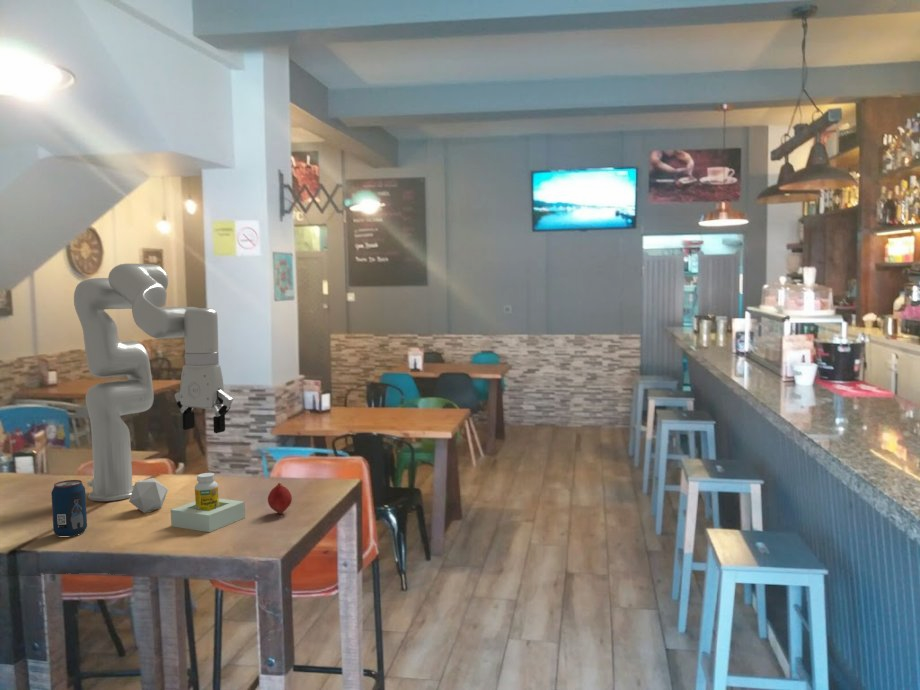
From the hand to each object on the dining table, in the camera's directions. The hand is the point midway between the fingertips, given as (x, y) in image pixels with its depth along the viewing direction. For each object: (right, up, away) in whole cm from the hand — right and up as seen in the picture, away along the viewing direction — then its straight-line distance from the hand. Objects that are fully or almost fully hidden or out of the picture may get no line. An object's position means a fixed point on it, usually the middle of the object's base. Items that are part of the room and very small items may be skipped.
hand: (204, 430), depth 176 cm
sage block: (+1, -22, +1) cm, 22 cm away
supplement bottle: (0, -21, +1) cm, 21 cm away
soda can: (-29, -24, -6) cm, 38 cm away
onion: (+17, -22, +7) cm, 28 cm away
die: (-18, -22, +12) cm, 31 cm away
